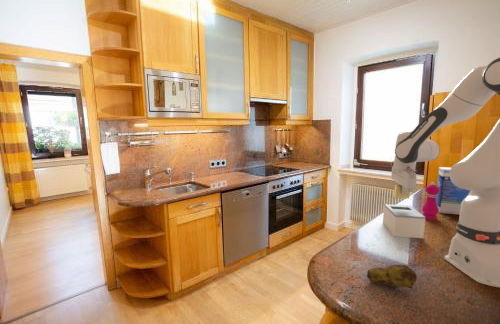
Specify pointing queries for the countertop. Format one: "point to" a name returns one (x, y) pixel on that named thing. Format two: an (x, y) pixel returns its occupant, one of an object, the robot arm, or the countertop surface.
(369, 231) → the countertop surface
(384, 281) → the potato
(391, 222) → the coin box
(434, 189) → the pepper mill
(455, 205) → the string lights box
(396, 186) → the block
